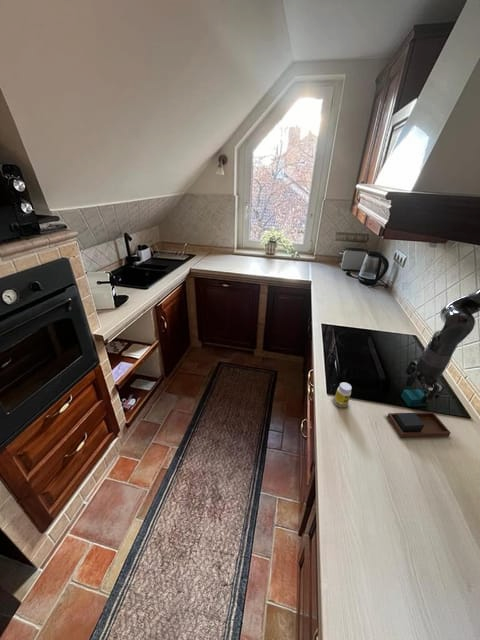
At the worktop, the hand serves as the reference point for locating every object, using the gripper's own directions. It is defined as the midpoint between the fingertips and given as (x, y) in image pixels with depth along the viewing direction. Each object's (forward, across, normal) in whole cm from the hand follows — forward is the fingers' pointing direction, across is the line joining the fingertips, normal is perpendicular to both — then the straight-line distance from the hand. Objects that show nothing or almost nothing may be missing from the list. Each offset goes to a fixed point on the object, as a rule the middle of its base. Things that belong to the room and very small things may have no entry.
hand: (415, 394), depth 94 cm
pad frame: (+4, -11, +6) cm, 13 cm away
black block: (+3, -11, +9) cm, 15 cm away
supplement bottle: (+4, 0, +28) cm, 28 cm away
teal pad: (+4, 0, 0) cm, 4 cm away
